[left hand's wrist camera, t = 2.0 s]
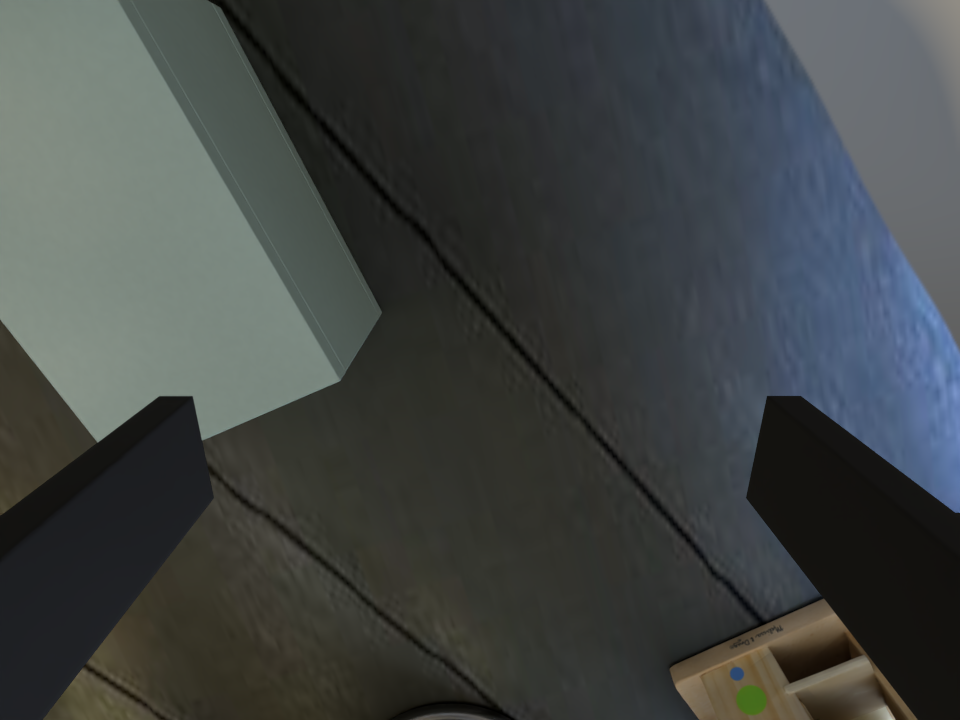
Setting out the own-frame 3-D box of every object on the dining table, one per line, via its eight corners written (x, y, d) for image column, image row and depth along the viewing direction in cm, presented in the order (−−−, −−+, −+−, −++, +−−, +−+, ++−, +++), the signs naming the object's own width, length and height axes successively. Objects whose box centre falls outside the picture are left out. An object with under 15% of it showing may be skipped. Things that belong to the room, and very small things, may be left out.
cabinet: (42, 108, 29) (-188, 83, 19) (220, 7, 28) (72, -78, 18) (225, 383, 35) (122, 474, 25) (382, 312, 33) (340, 381, 23)
